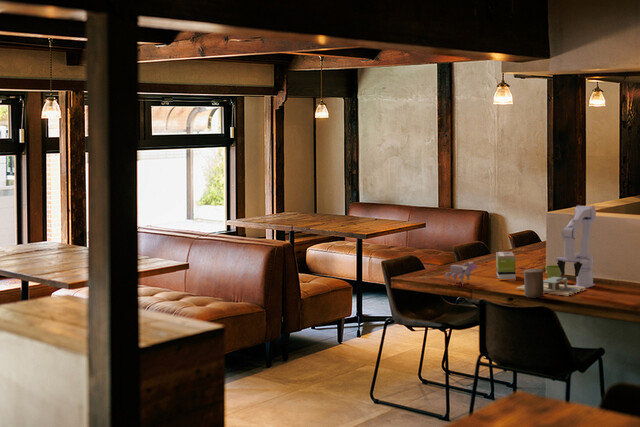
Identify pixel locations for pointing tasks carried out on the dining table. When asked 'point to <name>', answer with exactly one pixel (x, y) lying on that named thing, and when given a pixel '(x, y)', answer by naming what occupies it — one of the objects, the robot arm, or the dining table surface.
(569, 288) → the slate pad
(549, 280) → the sled cover
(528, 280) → the pillar candle
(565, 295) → the puzzle board
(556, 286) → the walnut block
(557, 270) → the plant pot
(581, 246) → the robot arm
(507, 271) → the tea box
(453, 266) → the toy sheep
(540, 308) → the dining table surface
